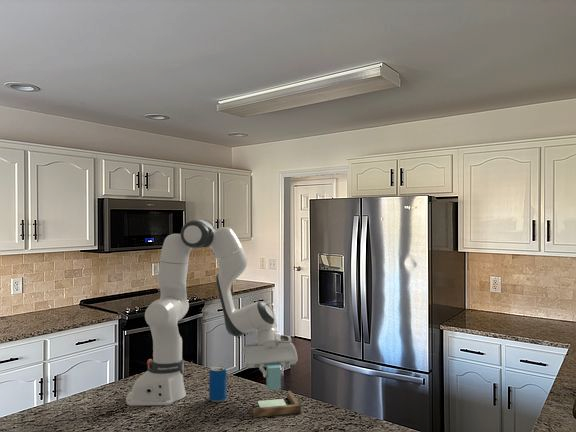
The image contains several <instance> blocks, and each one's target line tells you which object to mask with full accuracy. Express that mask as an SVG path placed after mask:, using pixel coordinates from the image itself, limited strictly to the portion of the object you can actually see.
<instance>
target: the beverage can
mask: <svg viewBox="0 0 576 432" xmlns="http://www.w3.org/2000/svg"><path fill="white" fill-rule="evenodd" d="M208 377H209V379H208V380H209V385H208V386H209V387H208V388H209V391H208V392H209V393H208V395H209V396H208V397H209V400H210V401H211V402H213V403H221V402H224V401H225V400H226V398H227V369H226V367H225V366H223V365H216V366H211V367H210V370H209V376H208Z"/></svg>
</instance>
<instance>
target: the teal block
mask: <svg viewBox="0 0 576 432" xmlns="http://www.w3.org/2000/svg"><path fill="white" fill-rule="evenodd" d="M265 368H266V370H265V371H268V377H265V379H266V388H267V389H268V391H275V390H282V389H281V388H282V385H281V384H282V381H281V380H282V379H281V377H282V376H281V369H282V368H281V366H280V365H279V364H269V365H266V367H265Z"/></svg>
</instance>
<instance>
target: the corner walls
mask: <svg viewBox="0 0 576 432" xmlns="http://www.w3.org/2000/svg"><path fill="white" fill-rule="evenodd" d="M286 397H287V400H288V401H289V403H290V404H286V405H283V406H273V407H262V408H260V407H253V408H252V417H253V418H260V417H267V416H268V417H271V416H280V415H281V416H282V415H289V414H300V413H301V412H302V408H301V407H302V406H301V404H300V402H299V401H298V399H297V397H296V396H295V394H294V393H293V392H292V390H287V391H286Z"/></svg>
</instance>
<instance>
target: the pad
mask: <svg viewBox="0 0 576 432" xmlns="http://www.w3.org/2000/svg"><path fill="white" fill-rule="evenodd" d="M257 403H258V408H262V407H273V406H283V405H287V403H286V402H285V400H284V398H280V399H279V398H278V399H277V398H276V399H266V400H257Z"/></svg>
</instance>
